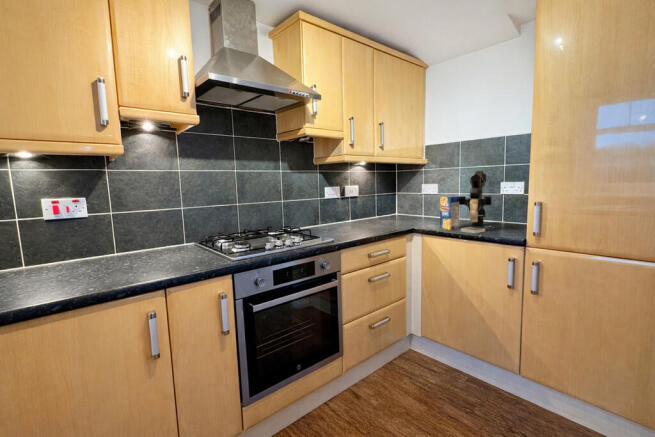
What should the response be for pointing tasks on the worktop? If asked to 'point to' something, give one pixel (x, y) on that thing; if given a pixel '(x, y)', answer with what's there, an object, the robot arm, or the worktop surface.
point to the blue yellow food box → (449, 212)
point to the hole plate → (472, 230)
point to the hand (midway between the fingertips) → (473, 210)
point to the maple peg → (474, 210)
